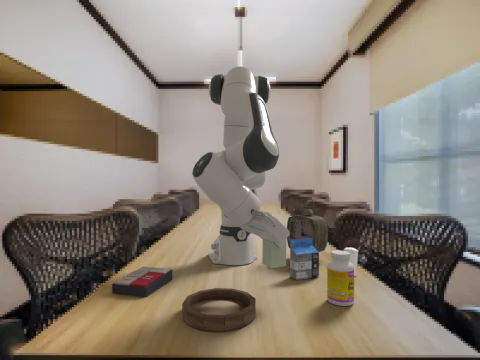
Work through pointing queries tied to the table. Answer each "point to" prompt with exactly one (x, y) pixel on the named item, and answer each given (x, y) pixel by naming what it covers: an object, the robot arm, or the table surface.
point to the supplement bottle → (340, 279)
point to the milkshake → (353, 257)
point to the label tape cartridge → (303, 259)
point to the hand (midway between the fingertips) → (276, 244)
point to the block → (273, 254)
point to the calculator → (142, 282)
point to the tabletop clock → (308, 228)
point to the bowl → (219, 309)
